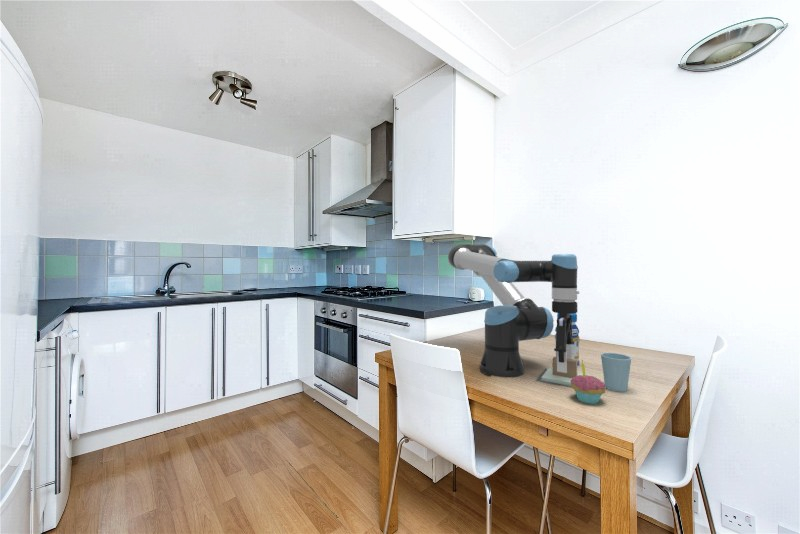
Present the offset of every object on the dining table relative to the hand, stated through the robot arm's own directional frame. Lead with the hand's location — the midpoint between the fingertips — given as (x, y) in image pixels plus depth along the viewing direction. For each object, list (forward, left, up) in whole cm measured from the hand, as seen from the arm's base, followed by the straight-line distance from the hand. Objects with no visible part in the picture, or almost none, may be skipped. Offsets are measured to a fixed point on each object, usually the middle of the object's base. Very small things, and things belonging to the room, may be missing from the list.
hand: (564, 367), depth 105 cm
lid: (0, 0, -4) cm, 4 cm away
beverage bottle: (-2, +19, -5) cm, 20 cm away
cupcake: (+8, -15, -5) cm, 17 cm away
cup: (+14, 0, -5) cm, 15 cm away
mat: (0, 0, -4) cm, 4 cm away
